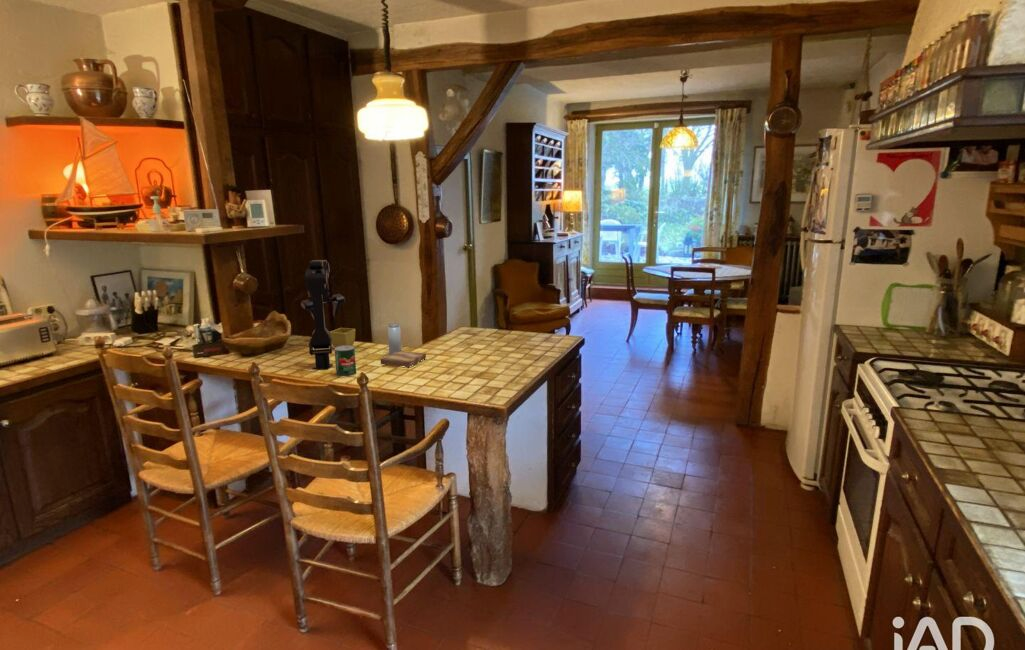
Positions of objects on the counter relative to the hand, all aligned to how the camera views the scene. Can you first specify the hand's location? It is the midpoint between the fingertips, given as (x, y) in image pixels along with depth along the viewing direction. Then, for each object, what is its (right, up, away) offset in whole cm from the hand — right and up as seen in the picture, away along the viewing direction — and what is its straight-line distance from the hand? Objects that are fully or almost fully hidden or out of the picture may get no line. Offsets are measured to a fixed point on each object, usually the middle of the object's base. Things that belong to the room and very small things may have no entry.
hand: (324, 318), depth 265 cm
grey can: (+34, -16, -5) cm, 38 cm away
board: (+40, -19, -18) cm, 48 cm away
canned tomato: (+20, -23, -34) cm, 45 cm away
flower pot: (+8, -14, +4) cm, 17 cm away
